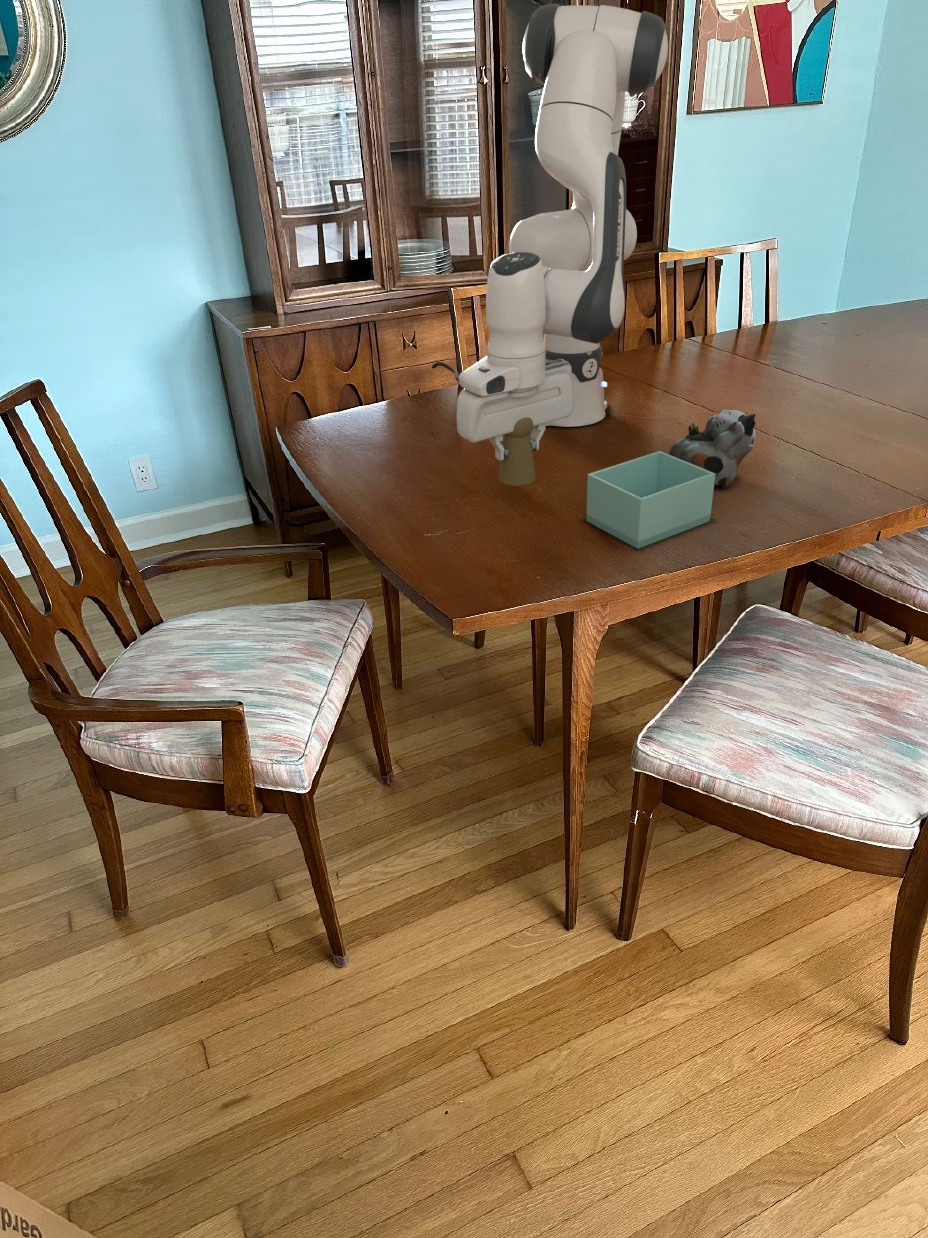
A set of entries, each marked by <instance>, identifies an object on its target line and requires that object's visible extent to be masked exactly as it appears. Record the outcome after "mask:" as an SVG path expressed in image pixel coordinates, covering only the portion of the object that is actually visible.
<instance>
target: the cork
mask: <svg viewBox="0 0 928 1238" xmlns="http://www.w3.org/2000/svg"><path fill="white" fill-rule="evenodd" d="M532 430H533V421H532V420H531V419H530V418H522V419H520V420H518V421H517V422H516V424H515V426H514V430H513V432H511V433H507V434H504V435H503V441H502V446H504V447H505V448H508V449H509V453H508V455H509V457H508V459H505V460H501V461H500V468H499V476H498V480H499V482H500V483H502V484H505V485H506V486H507V485H508V486H514V487H515V486H516V487H518V486H527V485H529V484H532V483H534V482H535V480H536V476H537V475H536V471H535V470H536V468H535V462H534V461H535V460H534V453H533V451H532V446H531V438H530V435H531V433H532Z"/></svg>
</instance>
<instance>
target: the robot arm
mask: <svg viewBox="0 0 928 1238" xmlns="http://www.w3.org/2000/svg"><path fill="white" fill-rule="evenodd" d="M666 29H667V26H666V24H665V22H664V20H663V18H662V17H660V16H658V15H656V14H655V13H652V12H649V11H647V10H646V11H645V10H643V11H642V12H639V11H635V10H632V9H628V8H623V7H619V6H618V7H617V6H614V5H613V6H612V5H606V4H600V6H599V5H585V4H582V5H579V4H577V5H573V4H572V5H560V3H551V4H545V5H544V4H543V5H541V6H539V7H538V8H537V9H536V10H535V11H534V12H533V13H532V14H531V15H530V19H529V22H528V24H527V26H526V29H525V32H524V34H523V35H524V36H523V41H522V55H523V56H522V57H523V61H524V68H525V71H526V73H527V74H528V75H529V77H530V79H531V80H533V81H534V82H535V83H539V84H541V85H543V86H544V87H543V91H542V93H541V94H542V95H541V98H540V105H539V109H538V115H537V121H536V127H535V135H534V137H535V138H534V147H535V153H536V156H537V159H538V161H539V163H540V165H541V166H542V168H543V169H544V170H545V172H546V173H547V174H548V175H549V176H551V178H552V179H554V180H556V181H557V182H559V184H560V185H562V186H564V188H566V189H568V190H570V191H571V193H572V199H573V200H572V206H571V208H569V209H565V210H556V211H549V212H541V213H538V214H536V215H532V216H530V217H528V218H525V219H522V220H520V221H519V222H517V223H516V224H515V226H514V228H513V229H512V232H511V234H510V237H509V242H508V252H509V253H505V254H502V255H500V256H498V257H496V258H495V259H494V260H493V261H492V262H491V263H490V266H489V268H488V269H489V270H488V275H487V282H486V295H485V321H486V326H487V329H488V342H487V347H486V356H484V357H483V358H482V359H480V360H479V361H477V362H476V363H474V364H473V365H471V366H470V367H468V368H466V369H465V370H463V371H462V372H459V370H458V369H457V368H455V367H453V366H451V365H449V364H448V363H446V362H443V361H436V362H434V363H433V364H432V365H431V369H436V368H437V367H443V368H445V369H447V370H449V372H452V373H453V374H454V379H455V380H456V382H457V383H458V385H459V386H460V387H461V388H463V389H462V390H461V391H460V392H459V395H458V397H457V401H456V431H457V433H458V435H459V436H460V437H461V438H462V439H463V440H465V441H467V442H468V443H471V444H474V443H478V442H481V441H485V440H488V441H489V442H490V443H491V445H492V446H493V448H494V457H495V459H496V460H497V461H500V462H501V460H505V459H508V457H509V455H508V453H509V449H508V448H505V447H504V446H503V444H502V443H501V442H504V434H507V433H511V432H513V430H514V426H515V424H516V422H517V421H518V420H520V419H522V418H530V419H531V420H532V421H533V429H532V431H531V433H530V438H531V446H532V452H536V451H538V450H540V440H541V438H542V437H543V435H544V433H545V431H546V427H554V426H555V427H562V428H563V427H564V428H565V427H566V428H569V427H570V428H571V427H583V426H588V425H589V426H590V425H592V424H596V423H598V422H600V421H602V420H604V419H605V417H606V415H607V414H606V409H607V408H608V402H607V400H605V389H604V388H606V387H608V382H606V381H604V372H603V369H602V368H601V366H602V363H603V361H602V360H603V359H602V357H603V347H602V345H601V343H602V342H603V341H605V340H607V339H609V337H611V336H612V335H613V334H615V333H616V332H617V331H618V330H619V329H620V328H621V326H622V324H623V320H624V316H625V309H626V308H625V307H626V293H625V273H624V271H625V268H624V267H625V261H626V260H628V259H629V258H630V257H631V256H632V254H633V251H634V250H635V247H636V243H637V238H638V230H637V225H636V221H635V218H634V217H633V215H632V213H631V212H630V211H629V210H628V209H627V178H626V170H625V169H626V168H625V165H624V162H623V159H622V158H621V157H620V156H619V150H620V149H619V148H620V142H621V136H622V135H621V134H622V130H623V129H622V128H623V122H624V115H625V105H626V104H625V102H626V92H627V93H628V95H629V97H630V98H633V97H635V95H638V94H643V93H647V92H648V91H649V90H651V89H652V88H653V87H654V86H655V85H656V83H657V80H658V79H659V78H660V76H661V74H662V72H663V71H664V68H665V66H666V62H667V58H668V50H669V43H668V41H669V40H668V35H667V31H666Z"/></svg>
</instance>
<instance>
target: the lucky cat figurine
mask: <svg viewBox="0 0 928 1238" xmlns="http://www.w3.org/2000/svg"><path fill="white" fill-rule="evenodd" d="M755 418H756V413H751V414H748V412H744V411H740V410H736V409H723V410H722V411H720V412H718V413H716V414H714V415H712V416H710V417H709V418H708V419H707V421H706V423H705V426H704V430H702V431H701V432H700V429H699V426H698V424H696V423H695V422H692V423H691V424H690V425H689V426H688V429H687V430H688V434H686V436H685V437H684V438H683V437H682V438H679V439H678V440H676V441H675V442H674V443H673V445H672V446H671V448H670V451H669V453H668V455H671V456H673V457H676V458H678V459H681V460H683V461H686V462H688V463H691V464H693V465H695V466H698V467H700V468H703V469H705V470H708V471H710V472H713V473H715V482H714V486H717V487H718V486H719V487H720V488H722V489H727V488H728V487H730V486H731V485H733V482H734V481H735V479H736V477H737V476H738V475H737V474H738V468H739V466H740V464H741V462H742V461H743V460H744V459H745V457H747V456H748V455H749V453H750V452H751V451H753V450H754V446H755V445H754V441H755V440H756V434H757V431H756V429H755V426H756V420H755Z"/></svg>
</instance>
